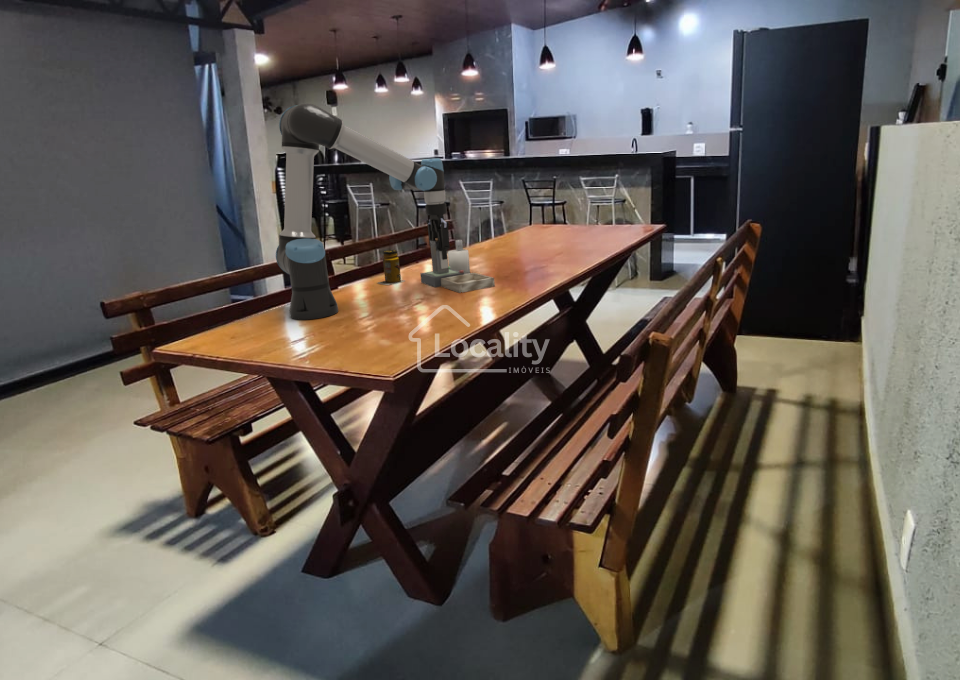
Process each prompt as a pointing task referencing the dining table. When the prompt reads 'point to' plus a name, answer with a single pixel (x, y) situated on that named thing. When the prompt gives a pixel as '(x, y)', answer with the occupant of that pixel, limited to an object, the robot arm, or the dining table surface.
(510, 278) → the dining table surface
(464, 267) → the white bottle
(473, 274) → the trough
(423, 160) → the robot arm
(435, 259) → the cell
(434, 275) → the checker pad
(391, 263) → the condiment
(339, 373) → the dining table surface
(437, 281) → the checker base
